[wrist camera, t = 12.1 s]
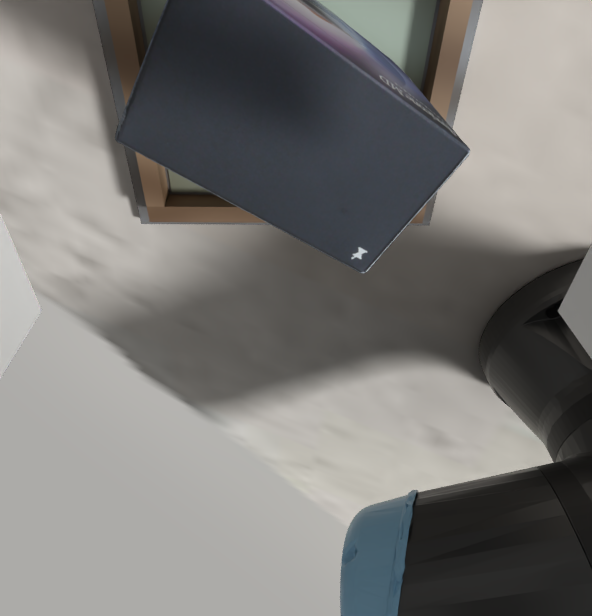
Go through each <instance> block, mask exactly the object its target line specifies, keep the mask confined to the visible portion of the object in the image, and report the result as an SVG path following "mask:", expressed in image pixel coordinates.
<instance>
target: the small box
mask: <svg viewBox="0 0 592 616" xmlns="http://www.w3.org/2000/svg"><path fill="white" fill-rule="evenodd" d="M115 140H116V141H117V142H119V143H121V144H123V145H124V146H126V147H128V148H130V149H132V150H134V151H135V152H137V153H139V154H141V155H143V156H145V157H146V158H148V159H150V160H152V161H154V162H155V163H157V164H159V165H161V166H163V167H165V168H167V169H169V170H170V171H172V172H174V173H176V174H178V175H180V176H182V177H183V178H185V179H187V180H189V181H191V182H193V183H195V184H196V185H198V186H200V187H202V188H204V189H206V190H207V191H209V192H211V193H213V194H215V195H217V196H218V197H220V198H222V199H224V200H226V201H228V202H229V203H231V204H233V205H235V206H237V207H239V208H241V209H242V210H244V211H246V212H248V213H250V214H252V215H254V216H256V217H257V218H259V219H261V220H263V221H265V222H267V223H269V224H270V225H272V226H274V227H276V228H278V229H280V230H282V231H283V232H285V233H287V234H289V235H291V236H293V237H294V238H296V239H298V240H300V241H302V242H304V243H306V244H308V245H309V246H311V247H313V248H315V249H316V250H318V251H320V252H322V253H324V254H326V255H328V256H330V257H332V258H333V259H335V260H337V261H339V262H341V263H343V264H345V265H347V266H349V267H350V268H352V269H354V270H356V271H358V272H359V273H365V272H367V271H368V270H369V269H370V268H371V267H372V266H373V264H374V263H375V262H376V261H377V260H378V258H379V257H380V256H381V255H382V253H383V252H384V251H385V250H386V249H387V248H388V247H389V246H390V245H391V243H392V242H393V241H394V240H395V239H396V238H397V237H398V236H399V235H400V233H401V232H402V231H403V230H404V229H405V228H406V226H407V225H408V224H409V223H410V222H411V221H412V219H413V218H414V217H415V216H416V215H417V214H418V213H419V212H420V211H421V210H422V208H423V207H424V206H425V205H426V204H427V203H428V201H429V200H430V199H431V198H432V197H433V196H434V195H435V193H436V192H437V191H438V190H439V189H440V188H441V187H442V185H443V184H444V183H445V182H446V181H447V180H448V179H449V178H450V177H451V175H452V174H453V173H454V172H455V170H456V169H457V168H458V167H459V166H460V165H461V164H462V162H463V161H464V160H465V159H466V158H467V157H468V156H469V153H470V149H469V148H468V147H467V145H466V144H465V143H464V142H463V141H462V140H461V139H460V138H459V137H458V135H457V134H456V133H455V132H454V130H453V129H452V128H451V127H450V126H449V125H448V123H447V122H446V121H445V120H444V118H443V117H442V116H441V115H440V114H439V112H438V111H437V110H436V109H435V108H434V107H433V105H432V104H431V103H430V102H429V101H428V99H427V98H426V97H425V96H424V95H423V93H422V92H421V91H420V90H419V89H418V88H417V86H416V85H415V84H414V83H413V81H412V80H411V79H410V78H409V77H408V76H407V75H406V73H405V72H404V71H403V70H402V69H401V68H400V67H399V66H398V65H397V64H395V63H394V62H393V61H392V60H391V59H390V58H389V57H387V56H386V55H385V54H384V53H382V52H381V51H380V50H379V49H378V48H376V47H375V46H374V45H373V44H371V43H370V42H369V41H368V40H366V39H365V38H364V37H363V36H361V35H360V34H359V33H358V32H356V31H355V30H354V29H352V28H351V27H350V26H349V25H348V24H346V23H345V22H344V21H343V20H341V19H340V18H339V17H338V16H336V15H335V14H334V13H333V12H331V11H330V10H329V9H328V8H326V7H325V6H324V5H322V4H321V3H320V2H318V1H317V0H167V1H166V4H165V6H164V9H163V11H162V14H161V16H160V19H159V21H158V24H157V26H156V28H155V31H154V33H153V36H152V39H151V42H150V45H149V47H148V50H147V52H146V55H145V58H144V60H143V62H142V65H141V68H140V70H139V73H138V75H137V78H136V80H135V83H134V86H133V88H132V91H131V94H130V96H129V99H128V102H127V104H126V107H125V109H124V112H123V115H122V118H121V120H120V122H119V125H118V127H117V131H116V135H115Z"/></svg>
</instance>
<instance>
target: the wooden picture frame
mask: <svg viewBox="0 0 592 616" xmlns="http://www.w3.org/2000/svg"><path fill="white" fill-rule="evenodd" d="M92 1H93V5H94V10H95V15H96V19H97V24H98V28H99V33H100V37H101V42H102V47H103V51H104V56H105V60H106V65H107V69H108V74H109V78H110V83H111V88H112V92H113V97H114V101H115V106H116V110H117V115H118V119H119V122H120V120H121V118H122V115H123V112H124V109H125V107H126V104H127V102H128V99H129V96H130V94H131V91H132V88H133V86H134V83H135V80H136V78H137V75H138V73H139V70H140V68H141V65H142V62H143V60H144V58H145V55H146V52H147V50H148V47H149V45H150V42H151V39H152V36H153V33H154V31H155V28H156V26H157V24H158V21H159V19H160V16H161V14H162V11H163V9H164V6H165V4H166V1H167V0H92ZM317 1H318V2H320V3H321V4H322V5H324V6H325V7H326V8H328V9H329V10H330V11H331V12H333V13H334V14H335V15H336V16H338V17H339V18H340V19H341V20H343V21H344V22H345V23H346V24H348V25H349V26H350V27H351V28H352V29H354V30H355V31H356V32H358V33H359V34H360V35H361V36H363V37H364V38H365V39H366V40H368V41H369V42H370V43H371V44H373V45H374V46H375V47H376V48H378V49H379V50H380V51H381V52H382V53H384V54H385V55H386V56H387V57H389V58H390V59H391V60H392V61H393V62H394V63H395V64H397V65H398V66H399V67H400V68H401V69H402V70H403V71H404V72H405V73H406V75H407V76H408V77H409V78H410V79H411V80H412V81H413V83H414V84H415V85H416V86H417V88H418V89H419V90H420V91H421V92H422V93H423V95H424V96H425V97H426V98H427V99H428V101H429V102H430V103H431V104H432V105H433V107H434V108H435V109H436V110H437V111H438V112H439V114H440V115H441V116H442V117H443V118H444V120H445V121H446V122H447V123H448V125H449V126H450V127H451V128H453V124H454V120H455V115H456V111H457V107H458V103H459V99H460V94H461V90H462V86H463V82H464V78H465V74H466V69H467V65H468V61H469V57H470V53H471V49H472V44H473V40H474V36H475V32H476V28H477V23H478V19H479V15H480V11H481V7H482V3H483V0H317ZM124 147H125V151H126V156H127V161H128V165H129V170H130V174H131V179H132V183H133V188H134V192H135V197H136V202H137V206H138V211H139V215H140V220H141V224H269V223H267V222H265V221H263V220H261V219H259V218H257V217H256V216H254V215H252V214H250V213H248V212H246V211H244V210H242V209H241V208H239V207H237V206H235V205H233V204H231V203H229V202H228V201H226V200H224V199H222V198H220V197H218V196H217V195H215V194H213V193H211V192H209V191H207V190H206V189H204V188H202V187H200V186H198V185H196V184H195V183H193V182H191V181H189V180H187V179H185V178H183V177H182V176H180V175H178V174H176V173H174V172H172V171H170V170H169V169H167V168H165V167H163V166H161V165H159V164H157V163H155V162H154V161H152V160H150V159H148V158H146V157H145V156H143V155H141V154H139V153H137V152H135V151H134V150H132V149H130V148H128V147H126V146H124ZM436 195H437V192H436V193H435V195H434V196H433V197H432V198H431V199H430V200H429V201H428V203H427V204H426V205H425V206H424V207H423V208H422V210H421V211H420V212H419V213H418V214H417V215H416V216H415V217H414V218H413V219H412V221H411V222H410V223H409V224H408V225H429V224H430V220H431V216H432V211H433V207H434V203H435V199H436Z"/></svg>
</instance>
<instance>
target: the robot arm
mask: <svg viewBox="0 0 592 616" xmlns="http://www.w3.org/2000/svg"><path fill="white" fill-rule="evenodd" d="M41 311H42V309H41V307H40V304H39V302H38V300H37V298H36V295H35V293H34V290H33V288H32V286H31V283H30V281H29V279H28V276H27V274H26V272H25V269H24V267H23V264H22V262H21V260H20V257H19V255H18V253H17V250H16V248H15V246H14V243H13V241H12V239H11V236H10V234H9V232H8V229H7V227H6V225H5V222H4V220H3V218H2V215H1V213H0V379H1V377H2V376H3V374H4V373H5V371H6V369H7V368H8V366H9V364H10V363H11V361H12V359H13V358H14V356H15V354H16V353H17V351H18V349H19V348H20V346H21V344H22V342H23V341H24V340H25V338H26V336H27V335H28V333H29V331H30V330H31V328H32V326H33V325H34V323H35V321H36V320H37V318H38V316H39V315H40V313H41ZM479 360H480V364H481V367H482V369H483V371H484V373H485V376H486V378H487V380H488V382H489V384H490V386H491V388H492V390H493V391H494V393H495V394H496V395H497V396H498V398H500V399H501V400H502V401H503V402H504V403H505V404H506V405H508V406H509V407H510V408H511V409H512V410H513V411H514V412H515V413H516V414H517V415H518V417H519V418H520V419H521V420H522V421H523V422H524V423H525V424H526V425H527V426H528V427H529V428H530V429H531V430H532V431H533V432H534V434H535V435H536V436H537V437H538V438H539V439H540V440H541V441H542V442H543V443H544V445H545V446H546V448H547V450H548V452H549V454H550V456H551V458H552V460H553V462H554V463H551V464H546V465H542V466H537V467H532V468H528V469H523V470H519V471H514V472H510V473H505V474H500V475H496V476H491V477H487V478H482V479H478V480H473V481H468V482H464V483H459V484H455V485H450V486H446V487H441V488H437V489H432V490H427V491H423V492H418V490H412V491H411V492H409V493H408V495H406V496H402V497H399V498H395V499H392V500H388V501H384V502H381V503H377V504H374V505H370V506H368V507H366V508H364V509H362V510H361V511H360V512H359V513H358V514H357V515H356V516H355V517H354V519H353V520H352V522H351V524H350V526H349V528H348V531H347V534H346V538H345V542H344V548H343V555H342V566H341V585H340V606H341V607H340V608H341V616H592V244H591V246H590V248H589V250H588V252H587V254H586V256H585V258H584V260H581V261H577V262H574V263H571V264H568V265H565V266H563V267H560V268H558V269H555V270H553V271H551V272H549V273H547V274H545V275H543V276H541V277H539V278H537V279H536V280H534V281H532V282H531V283H529V284H528V285H526V286H525V287H523V288H522V289H521V290H519V291H518V292H517V293H515V294H514V295H513V296H512V297H511V298H509V299H508V300H507V301H506V302H505V303H504V304H503V305H502V306H501V307H500V308H499V310H498V311H497V312H496V313H495V314H494V316H493V317H492V318H491V320H490V321H489V323H488V325H487V326H486V328H485V330H484V332H483V335H482V338H481V341H480V345H479Z"/></svg>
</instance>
